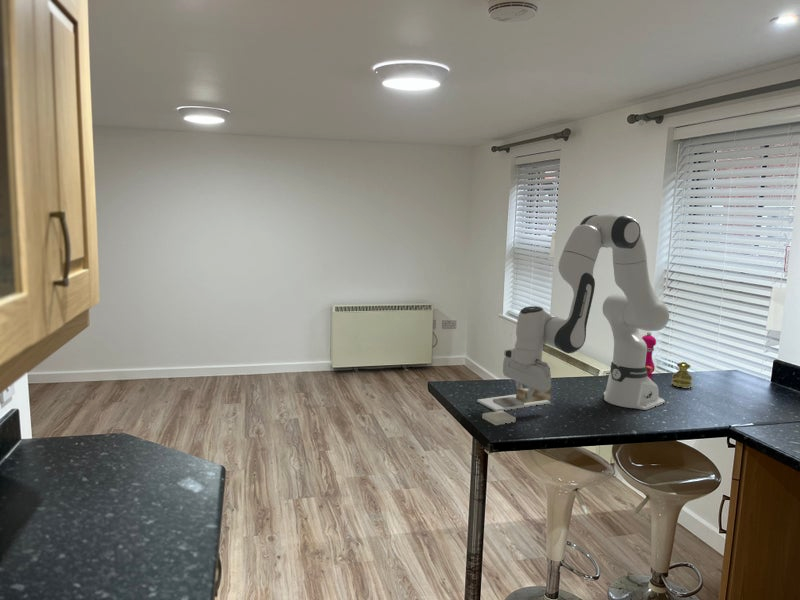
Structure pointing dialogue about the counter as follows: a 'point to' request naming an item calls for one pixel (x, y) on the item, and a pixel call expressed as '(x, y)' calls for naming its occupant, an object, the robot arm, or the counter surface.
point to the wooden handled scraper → (522, 398)
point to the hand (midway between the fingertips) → (524, 396)
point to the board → (490, 404)
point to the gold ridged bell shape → (682, 376)
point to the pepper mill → (649, 351)
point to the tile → (498, 417)
